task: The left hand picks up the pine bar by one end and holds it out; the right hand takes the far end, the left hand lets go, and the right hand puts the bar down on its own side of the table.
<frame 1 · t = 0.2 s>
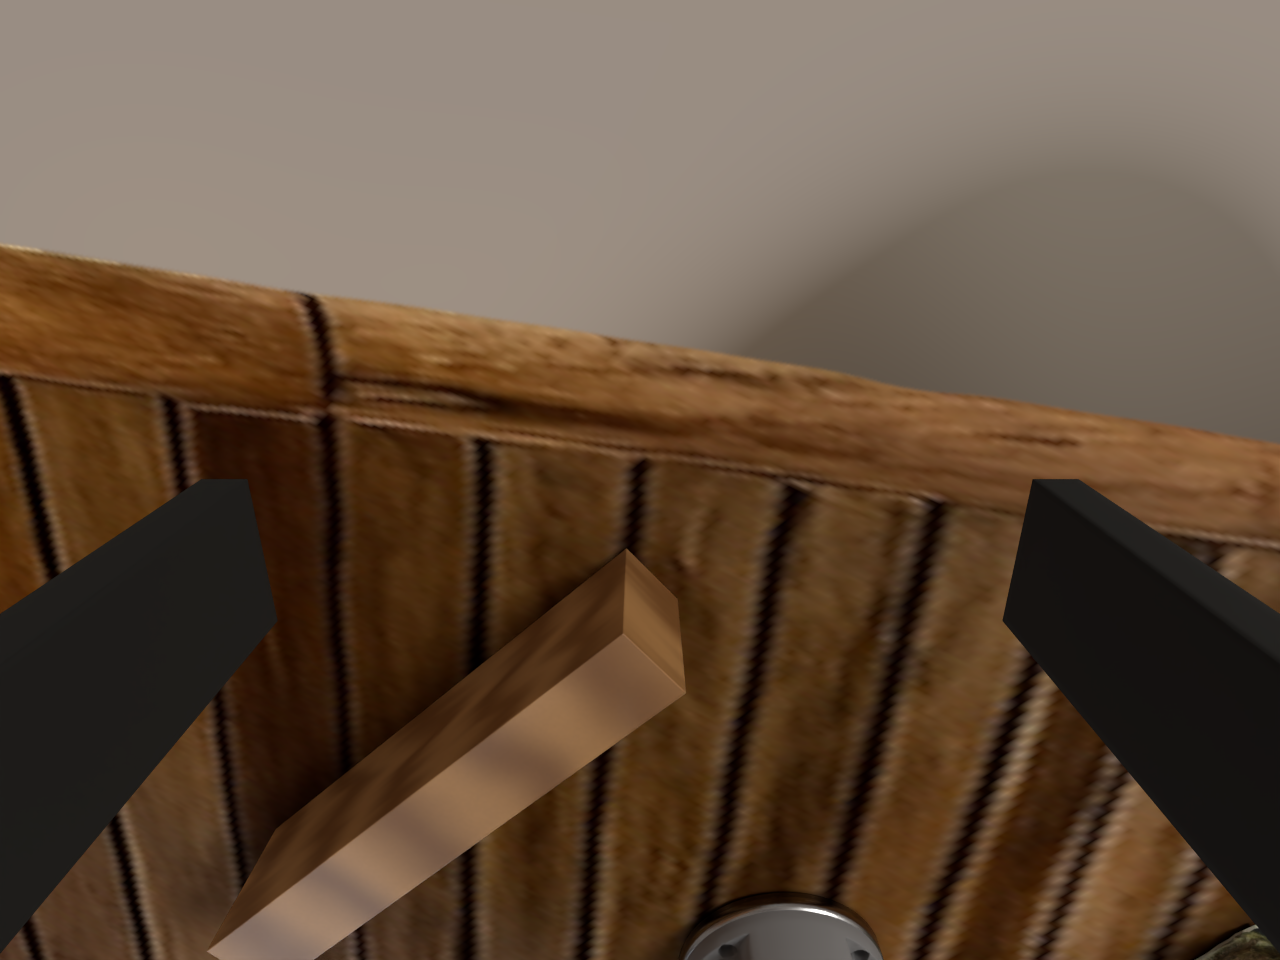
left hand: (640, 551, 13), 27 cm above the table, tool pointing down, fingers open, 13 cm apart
bar: (462, 722, 48), on the table
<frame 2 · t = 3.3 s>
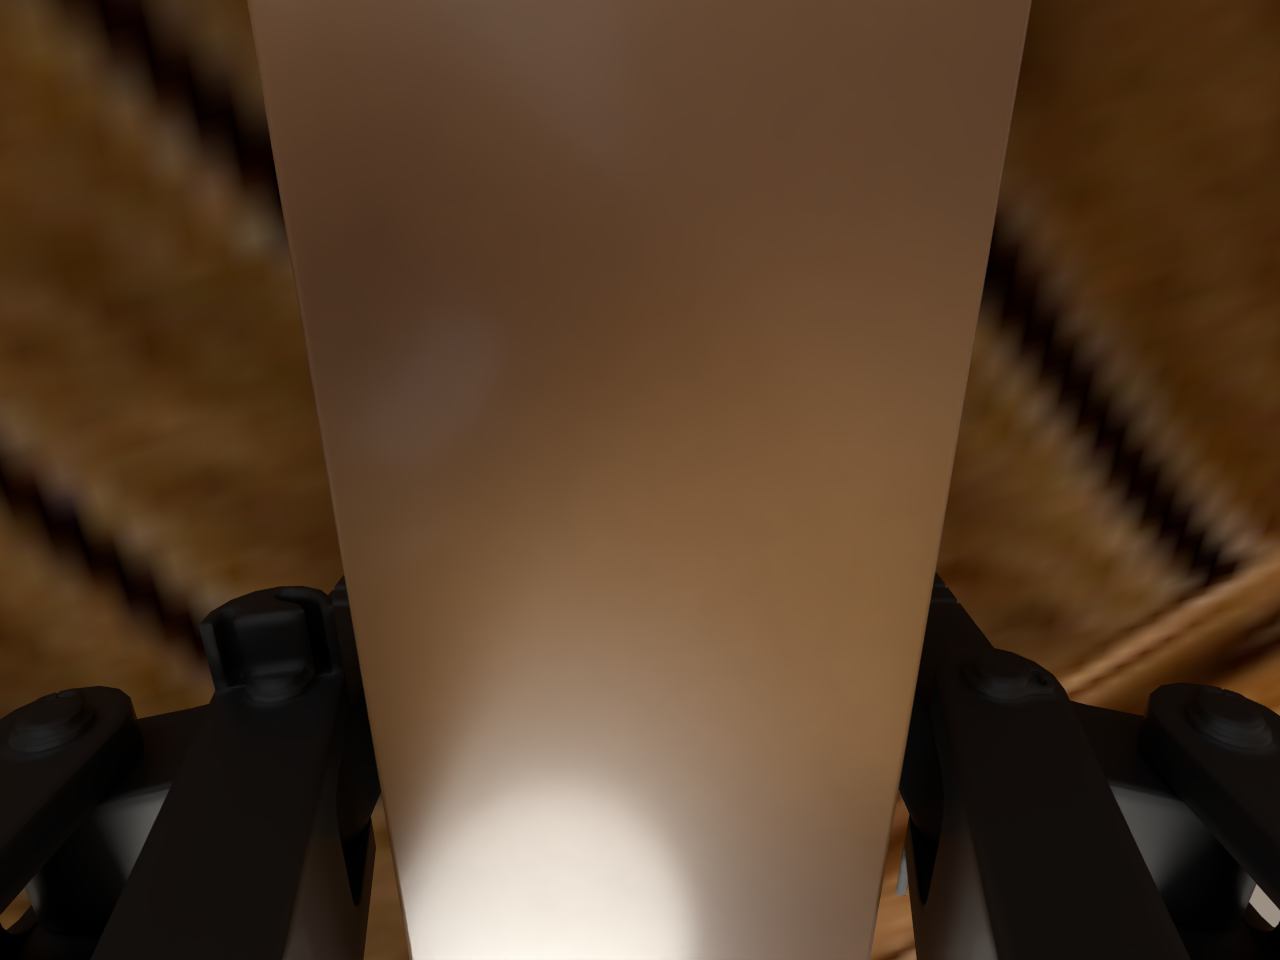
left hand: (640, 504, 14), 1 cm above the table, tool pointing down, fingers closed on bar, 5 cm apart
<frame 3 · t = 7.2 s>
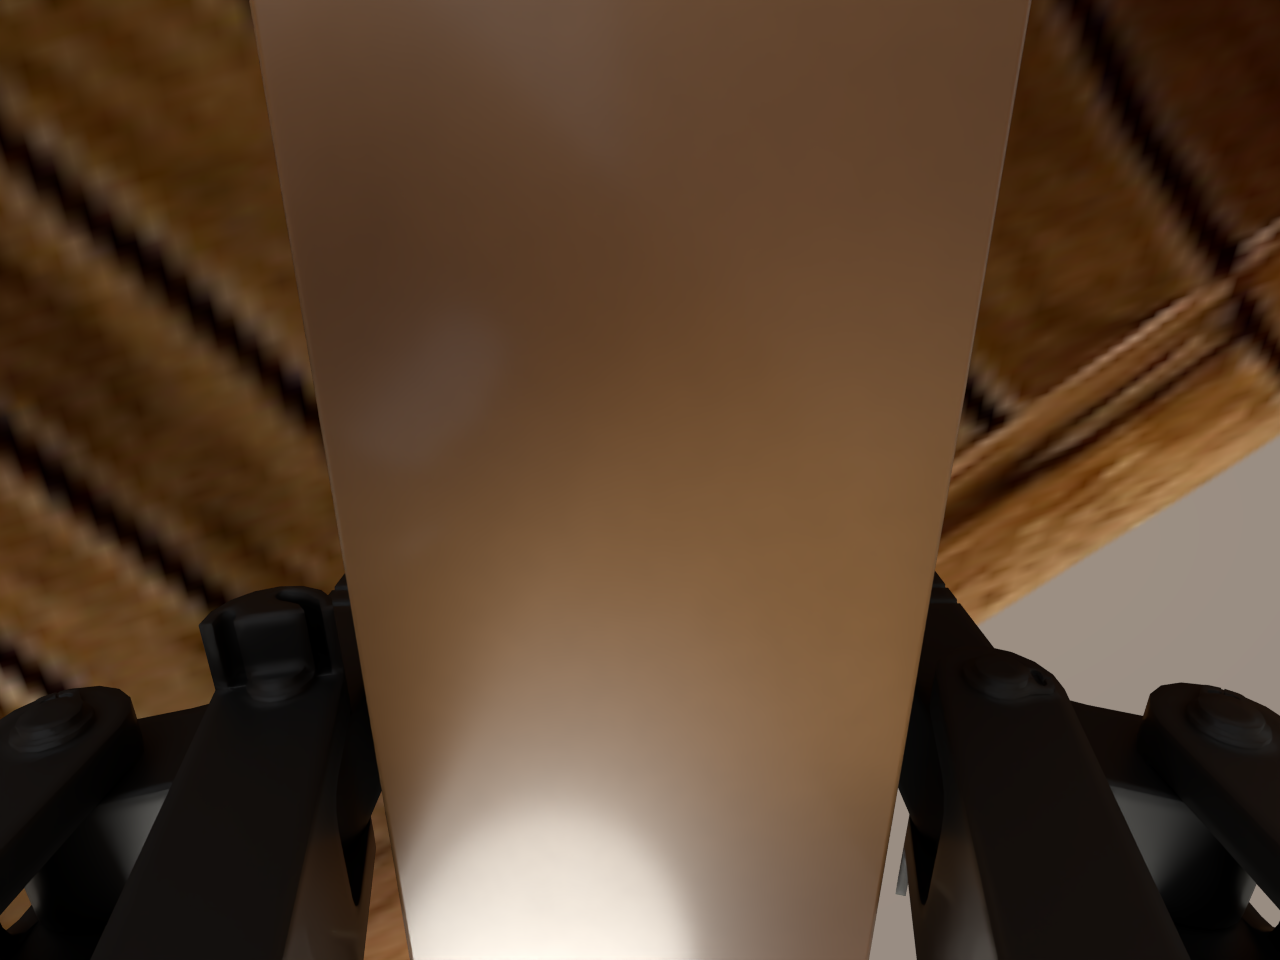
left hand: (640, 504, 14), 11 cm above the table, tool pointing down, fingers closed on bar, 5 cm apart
when the left hand's fingers open (11 cm above the table, at t = 7.9 s): bar stays where it is, held by the right hand.
when the right hand's fingers open (2 cm above the table, at t = 14.0 s): bar drops 1 cm, on the table.
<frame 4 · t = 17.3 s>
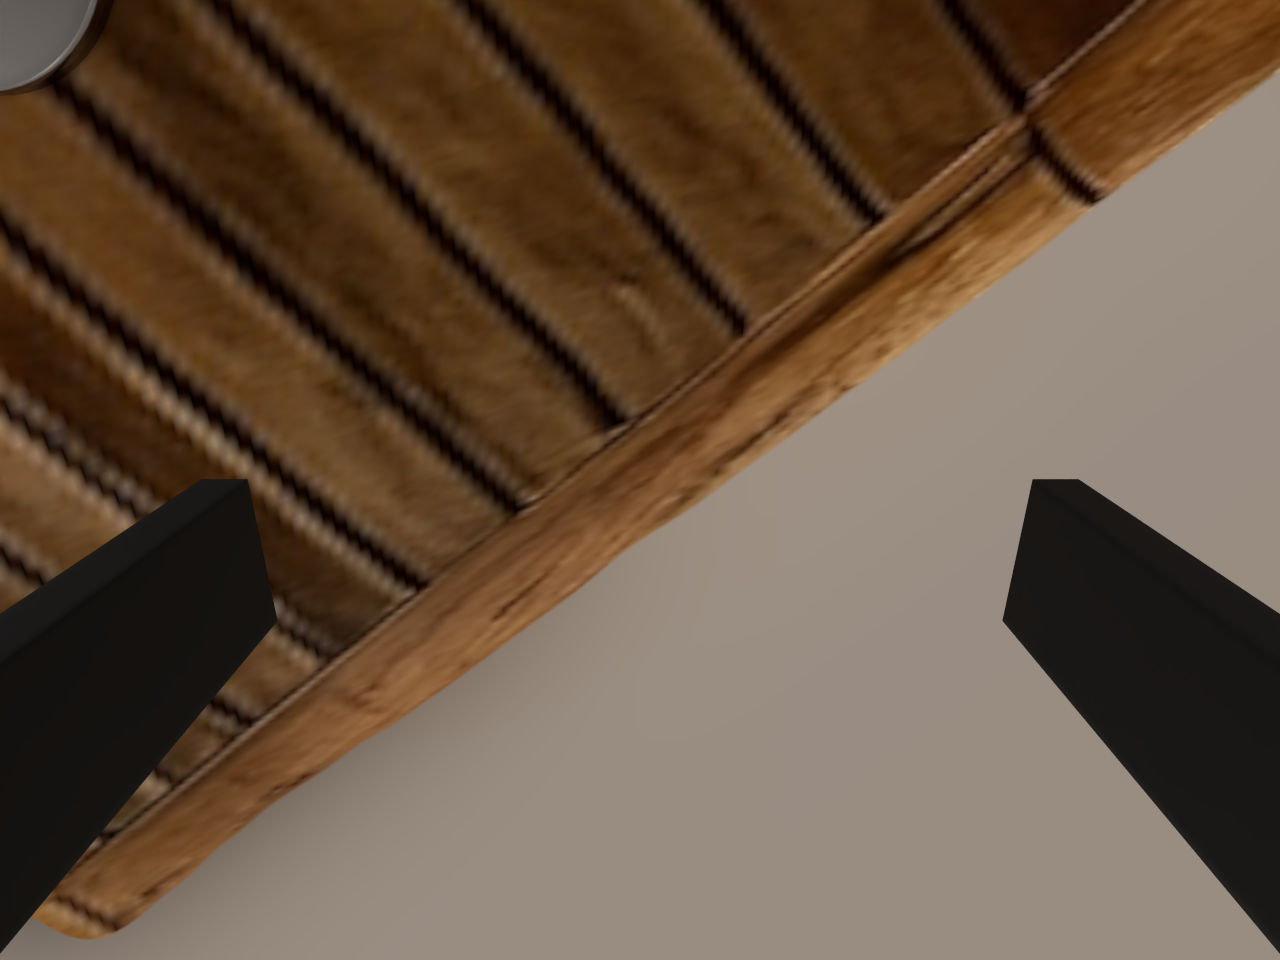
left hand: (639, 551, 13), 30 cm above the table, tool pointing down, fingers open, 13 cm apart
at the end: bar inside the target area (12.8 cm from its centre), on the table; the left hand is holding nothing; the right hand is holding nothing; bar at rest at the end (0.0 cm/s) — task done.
